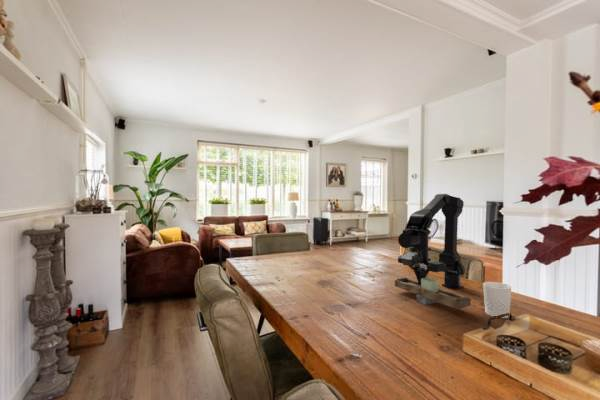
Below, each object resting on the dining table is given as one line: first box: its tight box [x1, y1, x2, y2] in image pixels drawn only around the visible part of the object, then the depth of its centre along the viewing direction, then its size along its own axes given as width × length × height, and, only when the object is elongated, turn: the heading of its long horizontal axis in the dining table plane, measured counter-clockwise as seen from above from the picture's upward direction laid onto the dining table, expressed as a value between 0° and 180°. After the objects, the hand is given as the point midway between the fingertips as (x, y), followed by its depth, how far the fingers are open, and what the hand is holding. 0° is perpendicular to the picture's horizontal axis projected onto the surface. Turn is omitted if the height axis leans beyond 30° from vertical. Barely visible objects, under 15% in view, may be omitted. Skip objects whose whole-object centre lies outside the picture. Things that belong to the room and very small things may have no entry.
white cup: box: [482, 281, 512, 319], centre depth 95 cm, size 8×8×10 cm
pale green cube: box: [421, 276, 439, 293], centre depth 108 cm, size 4×4×4 cm
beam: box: [394, 276, 472, 310], centre depth 108 cm, size 28×9×6 cm, turn 27°
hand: (420, 284), depth 111 cm, fingers closed
